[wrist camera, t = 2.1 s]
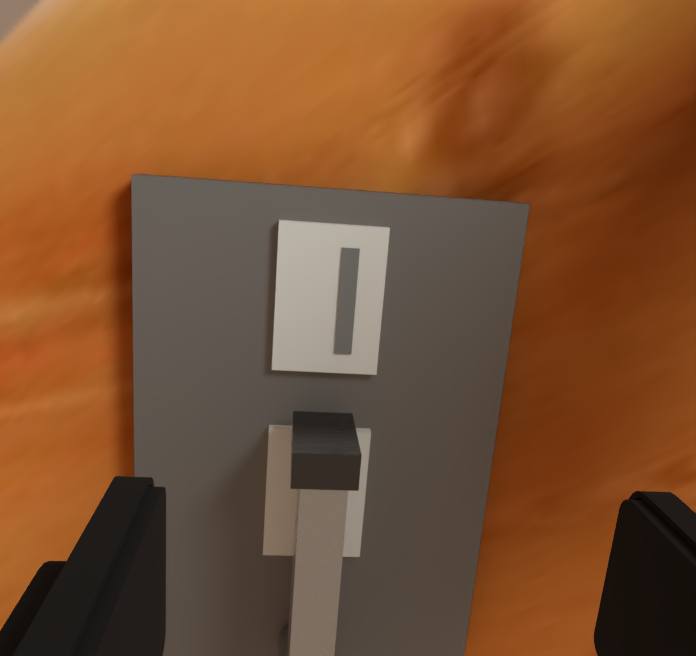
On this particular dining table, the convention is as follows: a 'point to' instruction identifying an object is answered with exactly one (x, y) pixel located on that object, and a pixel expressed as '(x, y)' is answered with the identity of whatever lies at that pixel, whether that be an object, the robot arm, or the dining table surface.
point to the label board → (319, 398)
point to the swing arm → (319, 527)
